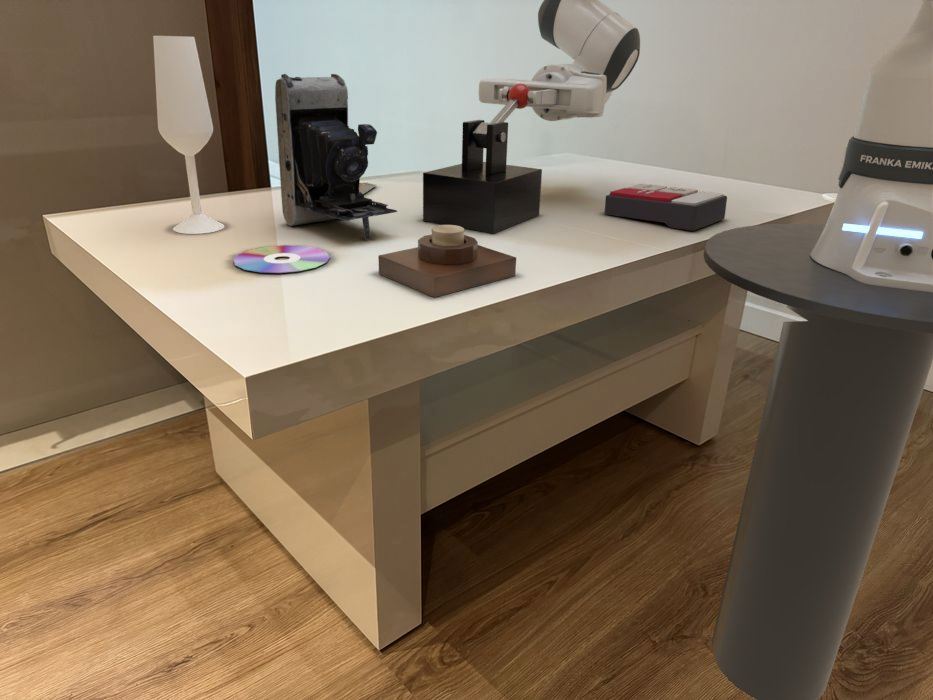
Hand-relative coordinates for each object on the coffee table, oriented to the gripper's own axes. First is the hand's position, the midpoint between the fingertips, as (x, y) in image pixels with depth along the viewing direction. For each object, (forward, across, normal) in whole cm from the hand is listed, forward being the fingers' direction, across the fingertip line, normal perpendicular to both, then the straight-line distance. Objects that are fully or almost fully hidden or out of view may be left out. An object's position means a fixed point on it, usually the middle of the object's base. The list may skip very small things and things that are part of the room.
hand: (517, 96), depth 106 cm
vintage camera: (+27, -12, +17) cm, 34 cm away
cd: (+42, -8, +17) cm, 46 cm away
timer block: (+35, +11, +17) cm, 40 cm away
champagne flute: (+38, -28, +17) cm, 50 cm away
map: (+10, -26, +17) cm, 33 cm away
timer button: (+35, +11, +13) cm, 39 cm away
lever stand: (+9, 0, +17) cm, 19 cm away
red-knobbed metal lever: (+3, 0, +4) cm, 5 cm away
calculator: (-9, +22, +17) cm, 29 cm away
